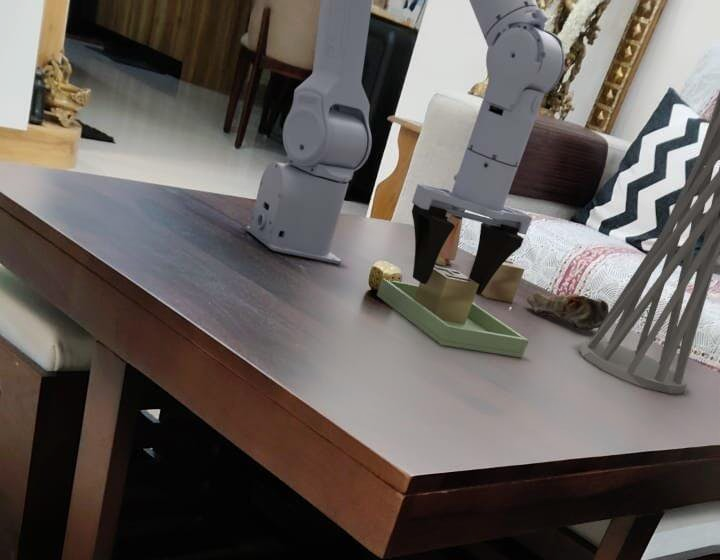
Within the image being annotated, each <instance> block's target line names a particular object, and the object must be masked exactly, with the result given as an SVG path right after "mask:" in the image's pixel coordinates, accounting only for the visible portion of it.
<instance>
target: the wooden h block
mask: <svg viewBox="0 0 720 560" xmlns="http://www.w3.org/2000/svg"><path fill="white" fill-rule="evenodd" d="M418 285H419V287H418V290H417V293H416V296H415V299H414V300H415V301H417V302H418V303H420V304H421V305H422V306H424V307H425V308H426V309H428V310H429V311H431V312H432V313H433V314H435V315H436V316H437V317H439V318H440V319H441V320H445V321H451V322H456V323H462V324H465V322H466V319H467V316H468V314H469V311H470V308H471V305H472V303H474V299H475V297H476V295H477V294H476V292H477V289H478V286H479V284H478V283H476V282H474V281H473V280H471V279H470V278H469V276H467V275H465V274H464V273H463V272H460V271H459V270H457V269H452V268H448V267H443V266H440V265H435V266H434V269H433V272H432V274H431V277H430V279H429V281H428V282H427V284H422V283H420V282H419V284H418Z"/></svg>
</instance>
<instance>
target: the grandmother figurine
mask: <svg viewBox="0 0 720 560" xmlns="http://www.w3.org/2000/svg"><path fill="white" fill-rule="evenodd" d="M457 175H458V172H457V173H456V174H454V176H453V179H454V182H455V181H456V178H457ZM452 209H454V208H452ZM455 210H456V209H455ZM463 212H466V210H465V209H464V211H463ZM446 217H448V219H447V220H448V221H449V222H451V223H452V224H454V226H455V228H454V229H453V230H452V232H451V233H450V235H449V236H448V238H447V240H446V241H445V243H444V245H443V247H442V249H441V251H440V253H439V255H438V258H437V260H436V263H435V265H436V264H437V265H438V266H441V267H443V266H446V265H451V261H455V260H456V256H457V253H458V249H459V244H460V239H461V238H460V237H461V231H462V226H463V225H462V224H463V219H464V218H463V217H459V216H455V215H451V214H447V213H446Z"/></svg>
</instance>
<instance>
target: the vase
mask: <svg viewBox="0 0 720 560" xmlns="http://www.w3.org/2000/svg"><path fill="white" fill-rule="evenodd" d="M719 159H720V90H719V91H718V94H717V98H716V101H715V103H714V107H713V110H712V113H711V117H710V120H709V123H708V126H707V129H706V133H705V135H704V137H703V141H702V145H701V147H700V151H699V154H698V156H697V158H696V160H695V162H694V165H693V167H692V169H691V170H690V173H689V175H688V176H687V179H686V181H685V183H684V185H683V187H682V189H681V191H680V194H679V195H678V197H677V199H676V202H675V204H674V205H673V207H672V210H671V211H670V214H669V217H668V218H667V220H666V222H665V224H664V227H663V228H662V230H661V232H660V234H659V235H658V237H657V238H656V240H655V241H654V243H653V244H652V246H651V248H650V249H649V250H648V252H647V253H646V255H645V257H644V258H643V260H642V261H641V262H640V263H639V265H638V267H637V268H636V270H635V272H634V273H633V275H632V276H631V278H630V279H629V281H628V282H627V284H626V285H625V287H624V288H623V290H622V292H621V293H620V294H619V295H618V298H617V299H616V301H615V302H614V304H613V305H612V307H611V308H610V310H609V311H608V314H607V316H606V317H605V319H604V320H603V322H602V324H601V325H600V327H599V328H597V330H596V331H595V333H594V334H593V335H592V337H591V338H590V339H587V340H583V341H582V342H581V344H580V346H579V348H578V352H579V353H580V354H581V357H583V358H584V359H585V360H586V361H588V362H590V363H591V364H592V365H594V366H596V367H597V368H599V369H600V370H602V371H604V372H606V373H608V374H610V375H613V376H615V377H616V378H619V379H621V380H623V381H625V382H629V383H631V384H634V385H636V386H639V387H642V388H644V389H648V390H653V391H657V392H661V393H665V394H669V395H679V394H680V395H681V394H682V393H683V392H684V390H685V389H686V387H687V385H688V383H687V381H686V380H685V378H684V375H685V372H686V369H687V365H688V362H689V358H690V354H691V351H692V347H693V344H694V341H695V337H696V334H697V330H698V327H699V323H700V320H701V316H702V313H703V309H704V305H705V303H706V299H707V296H708V292H709V289H710V285H711V282H712V278H713V275H714V273H715V272H714V271H715V268H716V265H717V261H718V258H719V256H720V215H719V214H720V166H719V168H718V171H717V172H716V173H715V175H714V177H713V173H714V169H715V166H716V165H717V163H718V161H719ZM712 177H713V178H712ZM697 193H698V194H697ZM696 195H697V199H696V200H695V201H694V197H695V196H696ZM710 199H711V204H710V207H709V208H708V210H707V211H706V212H704V211H705V208H706V204H707V203H708V201H709V200H710ZM704 213H705V214H704ZM689 226H690V229H689V233H688V237H687V238H686V239H685V241H684V242H683V244H681V246H680V247H679V249H678V246H679V243H680V240H681V237H682V235H683V234H684V232H685V231H686V230H687V229H688V228H689ZM703 233H704V237H703V241H702V246H701V247H700V248H699V250H698V251H697V254H696V255H695V251H696V246H697V243H698V240H699V238H700V237H701V235H703ZM677 249H678V250H677ZM694 255H695V257H694ZM664 259H665V260H664ZM663 260H664V263H663V265H662V269H661V271H660V274H659V276H658V277H657V278H656V280H654V283H653V284H652V285H651V287H650V288H649V289H648V290H647V292H646V294H644V296H643V297H642V295H643V293H644V290H645V289H646V287H647V285H648V283H649V280H650V279H651V276H653V275H652V274H653V273H654V271H655V270H656V269H657V267H658V266H659V265H660V264H661V262H662V261H663ZM681 263H682V264H681ZM680 264H681V268H680V272H679V277H678V281H677V285H676V288H675V290H674V291H673V293H672V295H671V296H670V298H669V300H668V301H667V303H666V305H665V307H664V308H663V310H662V312H661V313H660V315H659V317H658V318H657V320H656V322H655V324H654V325H653V326H652V324H653V321H654V318H655V316H656V312H657V309H658V306H659V303H660V301H661V297H662V294H663V292H664V288H665V285H666V283H667V282H668V281H669V279H670V278H671V276H672V275H673V274H674V272H675V271H676V269H677V268H678V267H679V265H680ZM694 275H695V278H694V283H693V288H692V292H691V293H690V296H689V298H688V301H687V303H686V305H685V308H684V310H683V312H682V314H681V311H682V307H683V303H684V298H685V294H686V289H687V287H688V285H689V283H690V282H691V280H692V279H693V277H694ZM641 298H642V299H641ZM640 299H641V300H640ZM649 306H650V307H649ZM648 307H649V309H648ZM647 309H648V312H647V315H646V319H645V322H644V325H643V328H642V331H641V334H640V337H639V340H638V343H637V345H636V349H635V350H633V349H631V348H629V347H626V346H624V345H621V344H622V343H623V341H624V340H625V339H626V337H627V336H628V334H629V333H630V332H631V330H632V329H633V328H634V326H635V325H636V324H637V323H638V321H639V320H640V318H641V317H642V315H643V314H644V313H645V311H646V310H647ZM680 315H681V317H680ZM668 318H669V321H668V325H667V328H666V334H665V337H664V341H663V347H662V350H661V355H660V360H657V359H654V358H652V357H650V356H648V355H646V354H647V352H648V350H649V349H650V347H651V345H652V344H653V342H654V341H655V339H656V337H657V336H658V333H659V332H660V330H661V329H662V327H663V326H664V324H665V322H666V321H667V319H668ZM679 318H680V319H679ZM618 319H619V320H618ZM617 320H618V321H617ZM616 321H617V324H616V326H615V328H614V330H613V332H612V334H611V337H610V338H609V340H608V341H607V340H602V339H603V338H604V337H605V336H606V334H607V333H608V332H609V330H610V328H612V327H613V325H614V324H615V322H616ZM651 327H652V328H651ZM679 347H680V348H679ZM678 350H679V353H678V357H677V363H676V368H675V370H674V369H672V368H671V366H672V365H673V364H672V363H673V361H674V358H675V357H676V354H677V352H678Z"/></svg>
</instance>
